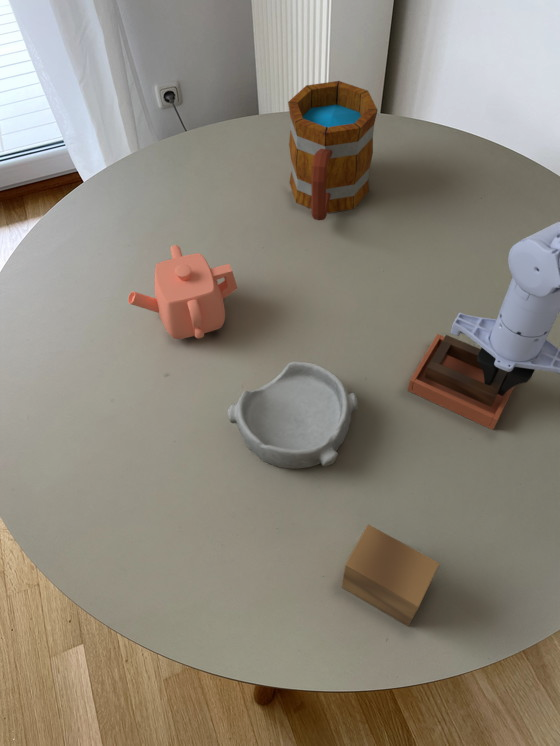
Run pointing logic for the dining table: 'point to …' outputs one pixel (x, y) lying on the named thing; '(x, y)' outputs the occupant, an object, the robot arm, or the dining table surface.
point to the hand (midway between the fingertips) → (495, 386)
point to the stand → (388, 574)
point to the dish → (295, 417)
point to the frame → (460, 380)
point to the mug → (331, 146)
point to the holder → (452, 398)
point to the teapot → (188, 294)
